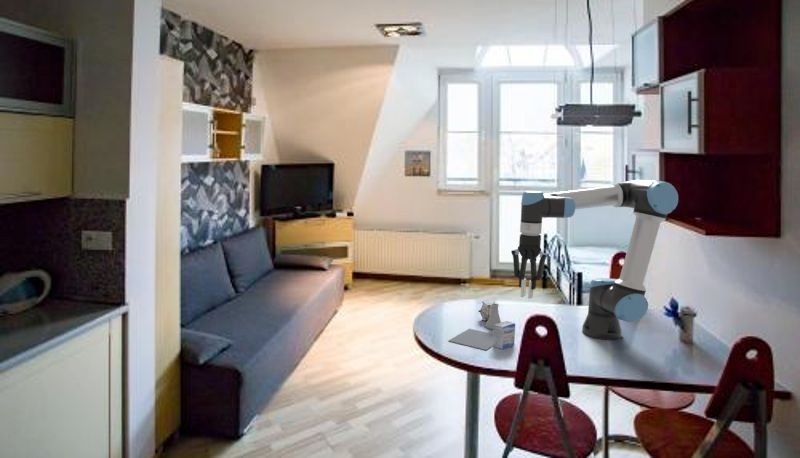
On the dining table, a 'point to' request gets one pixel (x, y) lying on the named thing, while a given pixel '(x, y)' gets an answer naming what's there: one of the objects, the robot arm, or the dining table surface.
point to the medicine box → (504, 334)
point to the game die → (485, 310)
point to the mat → (474, 339)
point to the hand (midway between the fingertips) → (526, 296)
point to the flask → (493, 317)
